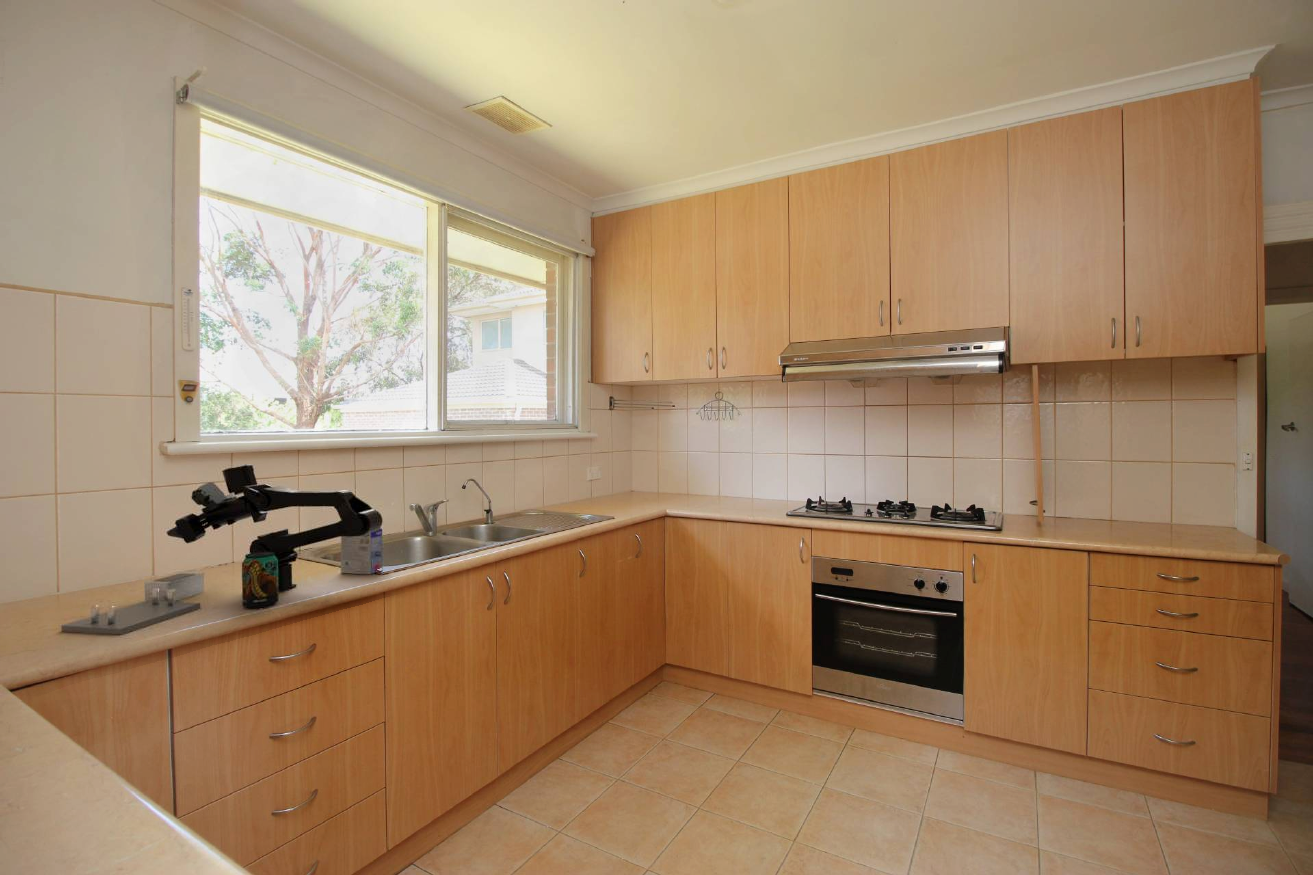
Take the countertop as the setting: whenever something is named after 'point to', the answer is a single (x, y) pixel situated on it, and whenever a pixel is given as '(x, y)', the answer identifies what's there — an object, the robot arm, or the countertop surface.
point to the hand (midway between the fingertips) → (181, 526)
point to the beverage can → (259, 580)
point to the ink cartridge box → (362, 553)
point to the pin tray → (131, 615)
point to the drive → (176, 585)
